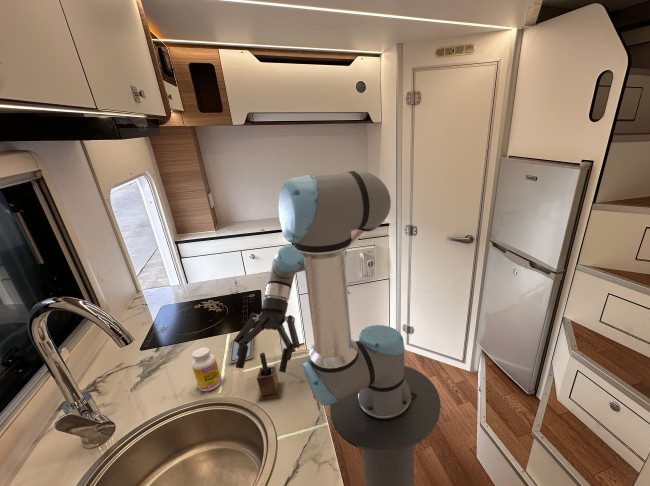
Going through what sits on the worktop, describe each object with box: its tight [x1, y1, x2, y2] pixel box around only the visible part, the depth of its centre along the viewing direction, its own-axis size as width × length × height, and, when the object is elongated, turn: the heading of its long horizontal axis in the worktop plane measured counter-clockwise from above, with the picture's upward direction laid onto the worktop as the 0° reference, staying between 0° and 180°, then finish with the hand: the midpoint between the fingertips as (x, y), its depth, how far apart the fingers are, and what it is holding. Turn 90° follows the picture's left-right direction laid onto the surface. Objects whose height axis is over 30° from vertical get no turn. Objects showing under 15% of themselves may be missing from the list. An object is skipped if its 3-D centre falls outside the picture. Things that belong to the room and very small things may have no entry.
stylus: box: [259, 352, 269, 376], centre depth 95 cm, size 1×1×14 cm
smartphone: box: [229, 338, 254, 364], centre depth 119 cm, size 7×1×15 cm
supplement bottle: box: [191, 347, 222, 392], centre depth 100 cm, size 7×7×13 cm
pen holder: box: [256, 365, 282, 402], centre depth 96 cm, size 6×6×8 cm
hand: (260, 370), depth 92 cm, fingers open, 13 cm apart
